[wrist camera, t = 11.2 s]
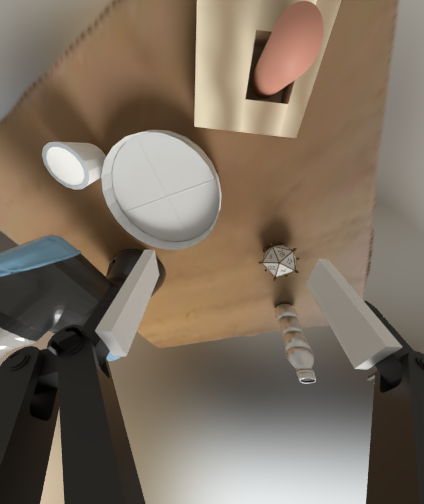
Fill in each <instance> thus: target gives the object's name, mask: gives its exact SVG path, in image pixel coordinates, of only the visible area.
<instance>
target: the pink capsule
mask: <svg viewBox="0 0 424 504" xmlns="http://www.w3.org/2000/svg"><path fill="white" fill-rule="evenodd" d="M322 39H323V19H322V15H321V13H320V11H319V9H318V8H317V6H316V5H315V4H313V3H312V2H309V1H299V2H296V3H294V4H293V5H291V6H290V7H289V8H287V9H286V10H285V11H284V12H283V14H282V15H281V16H280V18H279V19H278V21H277V23H276V25H275V27H274V29H273V31H272V33H271V35H270V37H269V40H268V42H267V44H266V46H265V48H264V50H263V52H262V54H261V57H260V59H259V61H258V63H257V65H256V67H255V69H254V72H253V75H252V89H253V92H254V93H255V95H256V96H257V97H259V98H261V99H267V98H269V97H271V96H272V95H274V94H275V93H277V92H278V91H280V90H281V89H283V88H284V87H285V86H287V85H288V84H290V83H291V82H293V81H294V80H296V79H297V78H298V77H300V76H301V75H303V74H304V73H305V72H306V71H307V70H308V69H309V68H310V66H311V65H312V64H313V62H314V61H315V59H316V57H317V55H318V52H319V50H320V47H321V43H322Z"/></svg>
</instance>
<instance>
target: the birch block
mask: <svg viewBox="0 0 424 504" xmlns="http://www.w3.org/2000/svg"><path fill="white" fill-rule="evenodd" d="M299 1H309V2H312V3H313V4H315V5H316V6H317V8H318V9H319V11H320V13H321V15H322V19H323V39H322V43H321V47H320V50H319V52H318V55H317V57H316V59H315V61H314V62H313V64H312V65H311V66H310V68H309V69H308V70H307V71H306V72H305V73H304V74H303V75H301V76H300V77H298V78H297V79H296V80H294V81H293V82H291V83H290V84H288V85H287V86H285V87H284V88H283V89H281V90H280V91H278V92H277V93H275V94H274V95H272V96H271V97H269V98H267V99H261V98H259V97H257V96H256V95H255V93H254V92H253V89H252V75H253V72H254V69H255V67H256V65H257V63H258V61H259V59H260V57H261V54H262V52H263V50H264V48H265V46H266V44H267V42H268V40H269V37H270V35H271V33H272V31H273V29H274V27H275V25H276V23H277V21H278V19H279V18H280V16H281V15H282V14H283V12H284V11H285V10H286V9H287V8H289V7H290V6H291V5H293V4H294V3H296V2H299ZM340 3H341V0H197V23H196V72H195V120H194V127H202V128H211V129H220V130H229V131H237V132H246V133H255V134H264V135H272V136H281V137H290V138H296V137H297V134H298V131H299V128H300V125H301V122H302V119H303V116H304V112H305V109H306V106H307V103H308V100H309V97H310V94H311V91H312V88H313V85H314V82H315V79H316V76H317V73H318V70H319V67H320V64H321V61H322V58H323V55H324V52H325V49H326V46H327V43H328V40H329V37H330V34H331V31H332V27H333V24H334V21H335V18H336V15H337V12H338V9H339V6H340Z"/></svg>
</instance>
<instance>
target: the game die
mask: <svg viewBox="0 0 424 504" xmlns="http://www.w3.org/2000/svg"><path fill="white" fill-rule="evenodd" d="M284 244H285V243H284V242H283V243H282V245H278V246H273V244H272V243H271V244H270V245H271V246H272V247H271V248H269V249H268V250H267V251H265V250H263V252H265V254H264V257H263V260H262V262H259V264H261V263H262V264H263V265H264V267H265V268H266V269H265V271H267V270H268V271H269V272H270V273H271V274H272V275H273V276H274V281H275V280H276V277H280V276H283V275H285V276H286V277H287V276H288V275H287V274H289V273H291V272H294V271H295V273H299V272H298V271H297V270H296V260H299V259H300V258H296V256H295V253H294V251H295V250H296V249H297V248H294V249H293V250H292V249H290V248H288V247H286V246H284Z"/></svg>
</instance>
